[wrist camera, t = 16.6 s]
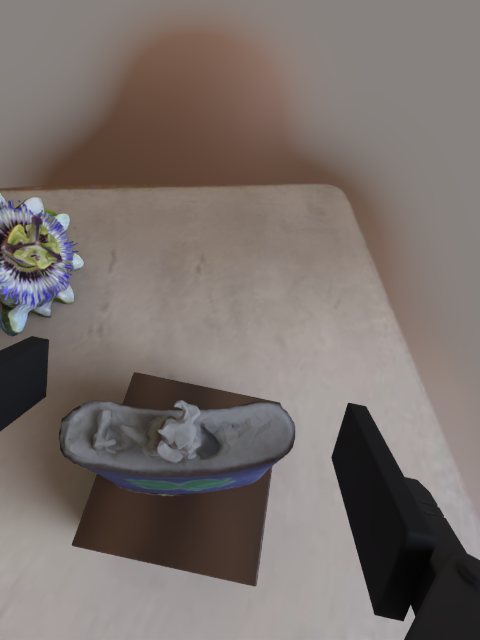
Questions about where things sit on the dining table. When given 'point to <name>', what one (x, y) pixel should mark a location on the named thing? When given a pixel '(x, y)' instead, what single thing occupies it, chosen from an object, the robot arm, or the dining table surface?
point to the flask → (177, 445)
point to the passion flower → (33, 262)
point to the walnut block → (180, 505)
